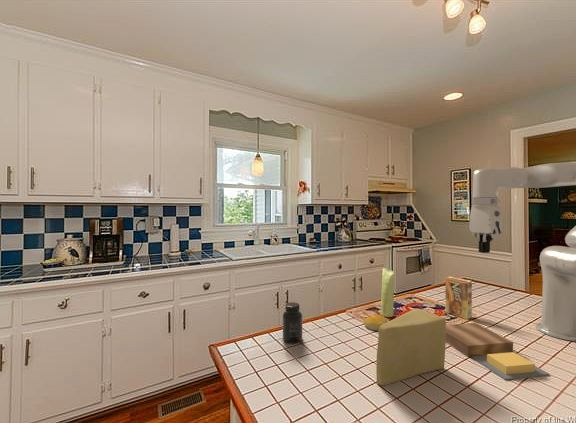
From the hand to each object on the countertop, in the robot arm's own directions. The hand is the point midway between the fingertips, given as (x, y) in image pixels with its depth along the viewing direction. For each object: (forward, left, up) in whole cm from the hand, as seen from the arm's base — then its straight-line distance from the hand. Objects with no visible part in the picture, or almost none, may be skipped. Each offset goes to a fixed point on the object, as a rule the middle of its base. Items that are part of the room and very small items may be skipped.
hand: (484, 252), depth 99 cm
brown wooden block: (+12, +8, -29) cm, 32 cm away
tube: (+28, -18, -29) cm, 44 cm away
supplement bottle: (+71, -4, -29) cm, 77 cm away
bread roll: (+38, -9, -30) cm, 49 cm away
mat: (+12, +21, -29) cm, 38 cm away
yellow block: (+12, +22, -26) cm, 36 cm away
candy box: (-2, -14, -29) cm, 33 cm away
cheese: (+43, +19, -29) cm, 55 cm away
